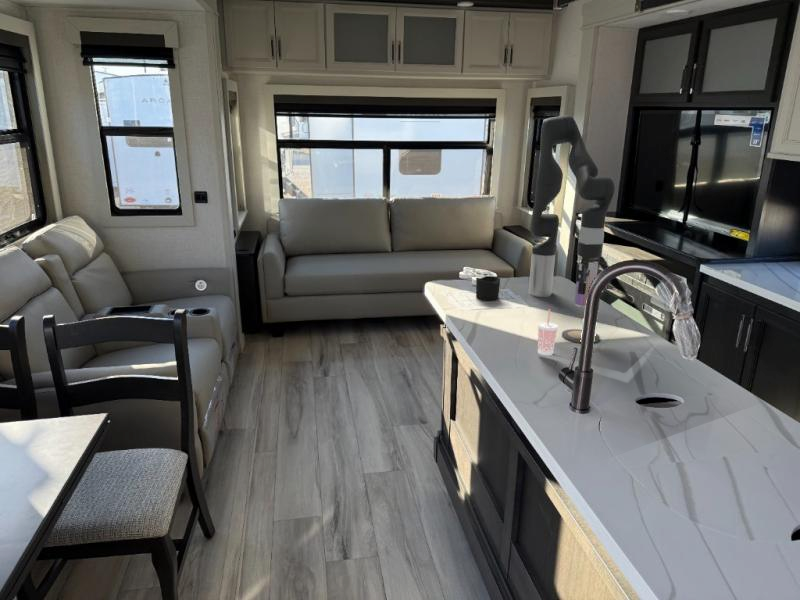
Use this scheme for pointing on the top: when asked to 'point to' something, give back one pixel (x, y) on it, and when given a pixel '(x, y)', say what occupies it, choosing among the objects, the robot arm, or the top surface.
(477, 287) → the pen holder
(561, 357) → the top surface
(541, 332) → the beverage cup
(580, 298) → the beverage can
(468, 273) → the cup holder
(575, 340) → the coaster
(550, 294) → the robot arm
